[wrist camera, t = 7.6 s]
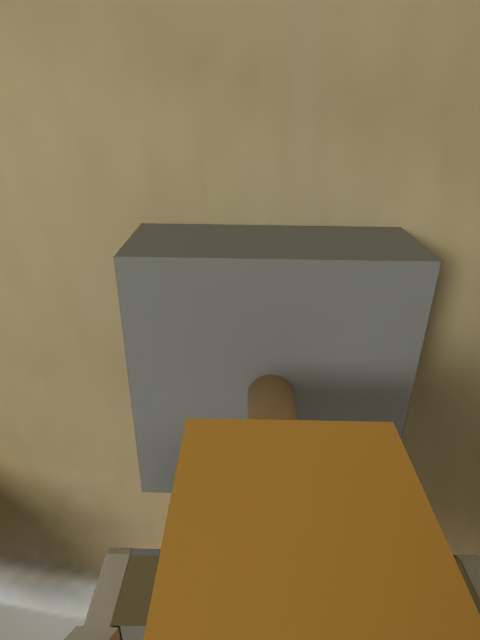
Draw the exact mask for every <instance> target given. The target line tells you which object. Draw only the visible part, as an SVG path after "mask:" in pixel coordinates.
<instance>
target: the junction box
mask: <svg viewBox="0 0 480 640" xmlns="http://www.w3.org/2000/svg"><path fill="white" fill-rule="evenodd" d="M114 263H115V271H116V279H117V288H118V296H119V304H120V313H121V321H122V329H123V338H124V346H125V354H126V363H127V371H128V379H129V387H130V396H131V404H132V412H133V421H134V429H135V437H136V446H137V454H138V462H139V471H140V479H141V487H142V492H166V493H172V489H173V484H174V479H175V473H176V468H177V463H178V458H179V453H180V448H181V443H182V437H183V432H184V427H185V422H186V418H207V419H261V420H316V421H370V422H393V423H394V425H395V427H396V429H397V432H398V434H399V436H400V438H402V434H403V429H404V425H405V420H406V416H407V412H408V407H409V403H410V398H411V394H412V390H413V385H414V381H415V376H416V372H417V368H418V363H419V359H420V354H421V350H422V345H423V341H424V337H425V332H426V328H427V323H428V319H429V315H430V310H431V306H432V301H433V297H434V292H435V288H436V284H437V279H438V275H439V270H440V266H441V261H440V260H439V259H438V258H436V257H435V256H434V255H433V254H432V253H430V252H429V251H428V250H427V249H426V248H424V247H423V246H422V245H421V244H420V243H419V242H417V241H416V240H415V239H414V238H413V237H411V236H410V235H409V234H408V233H407V232H405V231H404V230H403V229H402V228H401V227H337V226H272V225H206V224H141V225H140V226H139V227H138V228H137V229H136V231H135V232H134V233H133V234H132V235H131V237H130V238H129V239H128V240H127V241H126V242H125V244H124V245H123V246H122V247H121V248H120V250H119V251H118V252H117V253H116V254H115V256H114Z"/></svg>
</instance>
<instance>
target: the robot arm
mask: <svg viewBox="0 0 480 640" xmlns="http://www.w3.org/2000/svg"><path fill="white" fill-rule="evenodd" d="M160 551H161V549H136V548H110V549H109V551H108V552H107V554H106V556H105V559H104V563H103V566H102V569H101V572H100V575H99V579H98V582H97V585H96V588H95V591H94V595H93V598H92V601H91V604H90V607H89V611H88V614H87V617H86V620H85V623H84V626H76V628H75V629H74V630H73V631H72V632H71V633H70V634H69V635H68V636H67V637H66V638H65V639H64V640H143V638H144V633H145V628H146V623H147V618H148V613H149V607H150V602H151V597H152V592H153V587H154V582H155V577H156V571H157V566H158V561H159V556H160ZM453 556H454V559H455V561H456V563H457V565H458V567H459V570H460V572H461V574H462V576H463V579H464V581H465V583H466V585H467V587H468V590H469V592H470V594H471V596H472V599H473V601H474V603H475V605H476V607H477V610H478V612H479V614H480V556H478V555H453Z"/></svg>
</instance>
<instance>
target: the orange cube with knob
mask: <svg viewBox="0 0 480 640" xmlns="http://www.w3.org/2000/svg"><path fill="white" fill-rule="evenodd" d="M143 640H480V614H479V612H478V610H477V607H476V605H475V603H474V601H473V599H472V596H471V594H470V592H469V590H468V587H467V585H466V583H465V581H464V579H463V576H462V574H461V572H460V570H459V567H458V565H457V563H456V561H455V559H454V556H453V554H452V552H451V550H450V547H449V545H448V543H447V541H446V538H445V536H444V534H443V532H442V530H441V527H440V525H439V523H438V521H437V518H436V516H435V514H434V512H433V510H432V507H431V505H430V503H429V501H428V498H427V496H426V494H425V492H424V490H423V487H422V485H421V483H420V481H419V478H418V476H417V474H416V472H415V469H414V467H413V465H412V463H411V461H410V458H409V456H408V454H407V452H406V449H405V447H404V445H403V443H402V441H401V438H400V436H399V434H398V432H397V429H396V427H395V425H394V423H393V422H370V421H316V420H261V419H207V418H186V422H185V427H184V432H183V437H182V443H181V448H180V453H179V458H178V463H177V468H176V473H175V479H174V484H173V489H172V494H171V499H170V504H169V510H168V515H167V520H166V525H165V530H164V535H163V540H162V546H161V551H160V556H159V561H158V566H157V571H156V577H155V582H154V587H153V592H152V597H151V602H150V607H149V613H148V618H147V623H146V628H145V633H144V638H143Z"/></svg>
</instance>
